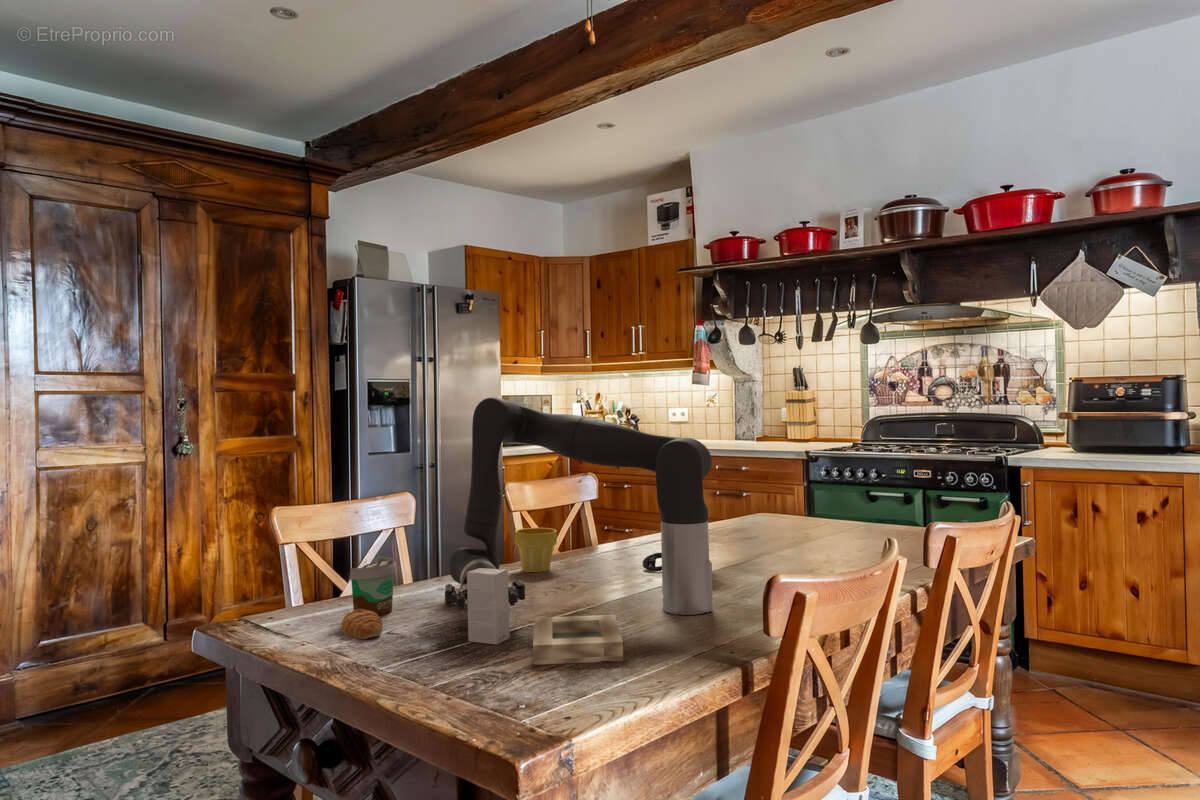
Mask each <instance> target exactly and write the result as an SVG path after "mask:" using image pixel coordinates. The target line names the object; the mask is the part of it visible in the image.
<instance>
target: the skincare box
mask: <svg viewBox="0 0 1200 800" xmlns="http://www.w3.org/2000/svg"><path fill="white" fill-rule="evenodd" d="M508 584H509V571H508V569H502V568H501V569H500V568H499V569H489V568H478V569H475V570H472V571H469V572H467V600H468V605H467V628H468V630H467V634H468V642H470V643H481V644H490V645H500V644H502V643H503V642H505V641H507V640H508V639H510V637H511V636H510V604H509V599H508Z"/></svg>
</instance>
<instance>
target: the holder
mask: <svg viewBox="0 0 1200 800" xmlns="http://www.w3.org/2000/svg"><path fill="white" fill-rule="evenodd" d="M534 618H535V619H534V629H533V639H532V640H533V641H532V642H533V643H532V659H533V660H532V662H533V663H532V664H533V665H535V666H537V665H556V664H557V665H558V664H559V665H560V664H562V665H564V664H581V663H586V664H587V663H602V662H601V661H612V662H624V645H623V644H624V643H623V642H624V641H623V637H622V635H621V631H620V629H619V626H618V621H617V617H616V615H615V614H603V615H602V614H600V615H599V614H598V615H575V616H574V615H573V616H568V615H567V616H547V617H544V616H543V617H534Z"/></svg>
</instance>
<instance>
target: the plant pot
mask: <svg viewBox="0 0 1200 800" xmlns="http://www.w3.org/2000/svg"><path fill="white" fill-rule="evenodd" d="M557 537H558V533H557V530H556V529H555V528H549V527H525V528H519V529H516V530H515V531H514V544H515V546H517V549H518V554H519V560H520V564H521V569H522V571H523V572H524V571H527V572H526V573H529V572H540V573H542V572H541V571H546V572H548V571H547V570H549V571H550V570H551V563H552V558H553V553H554V548H555V545H556V544H558V543H557V541H558V538H557Z"/></svg>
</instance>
